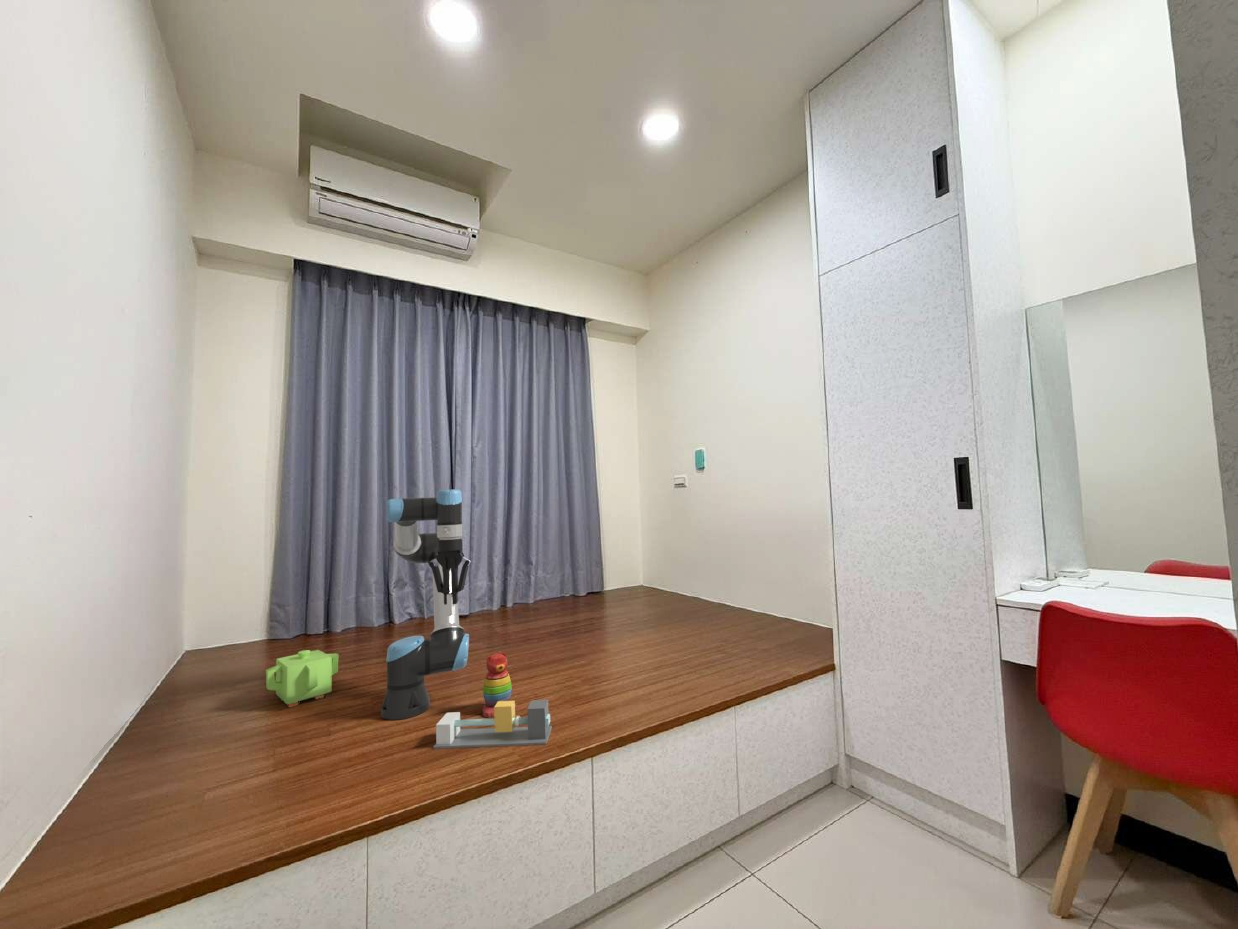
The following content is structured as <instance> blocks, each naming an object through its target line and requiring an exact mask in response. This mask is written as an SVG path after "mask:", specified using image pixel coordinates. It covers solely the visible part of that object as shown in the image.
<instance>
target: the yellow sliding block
mask: <svg viewBox="0 0 1238 929" xmlns="http://www.w3.org/2000/svg"><path fill="white" fill-rule="evenodd" d="M515 704H516V701H515V700H511V701H498V702H497V704H496V705H495V707H494V716H493V718H495V725H494V728H495V732H512V731H513V729H514V727H516V725H513V723H512V718H516V710H515Z"/></svg>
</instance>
